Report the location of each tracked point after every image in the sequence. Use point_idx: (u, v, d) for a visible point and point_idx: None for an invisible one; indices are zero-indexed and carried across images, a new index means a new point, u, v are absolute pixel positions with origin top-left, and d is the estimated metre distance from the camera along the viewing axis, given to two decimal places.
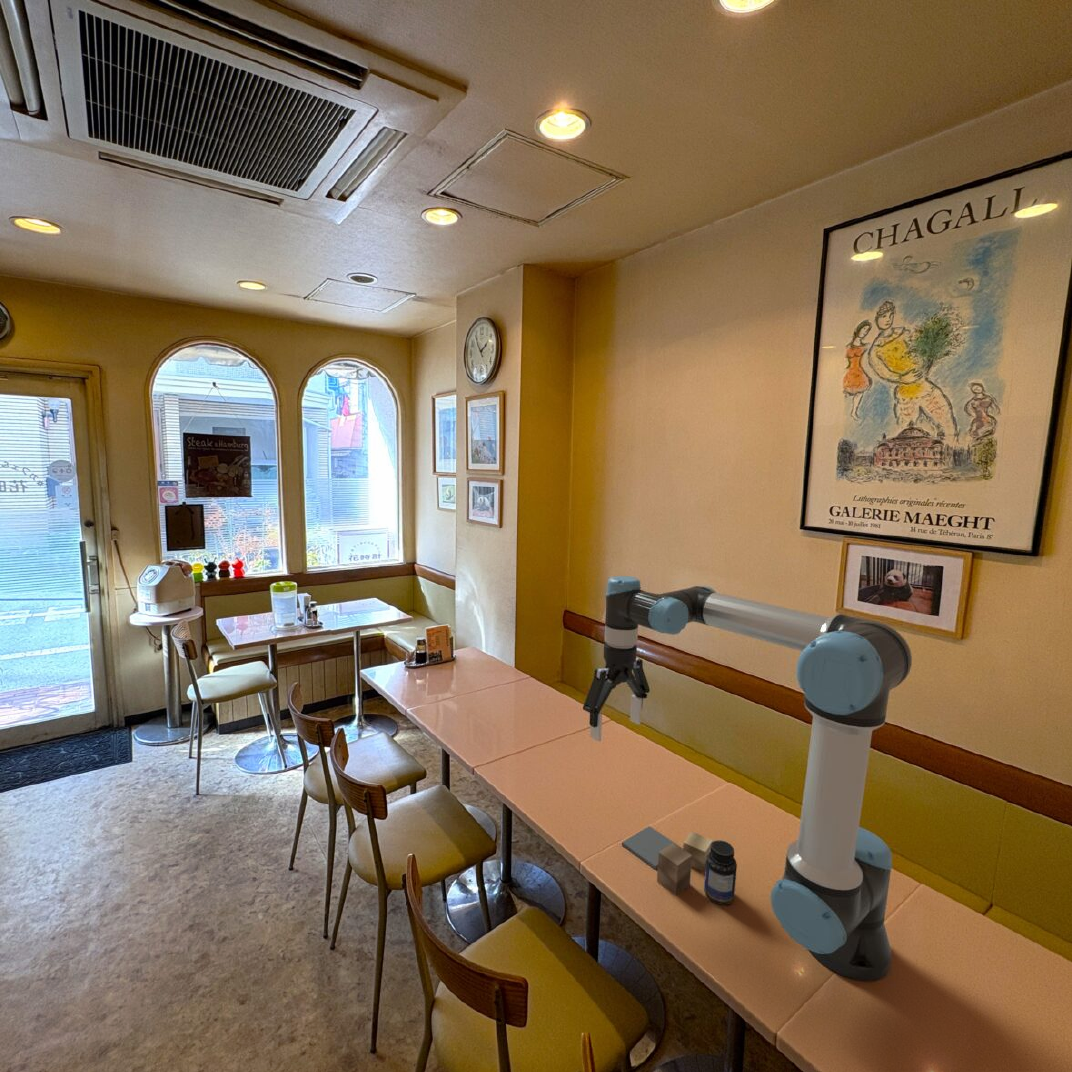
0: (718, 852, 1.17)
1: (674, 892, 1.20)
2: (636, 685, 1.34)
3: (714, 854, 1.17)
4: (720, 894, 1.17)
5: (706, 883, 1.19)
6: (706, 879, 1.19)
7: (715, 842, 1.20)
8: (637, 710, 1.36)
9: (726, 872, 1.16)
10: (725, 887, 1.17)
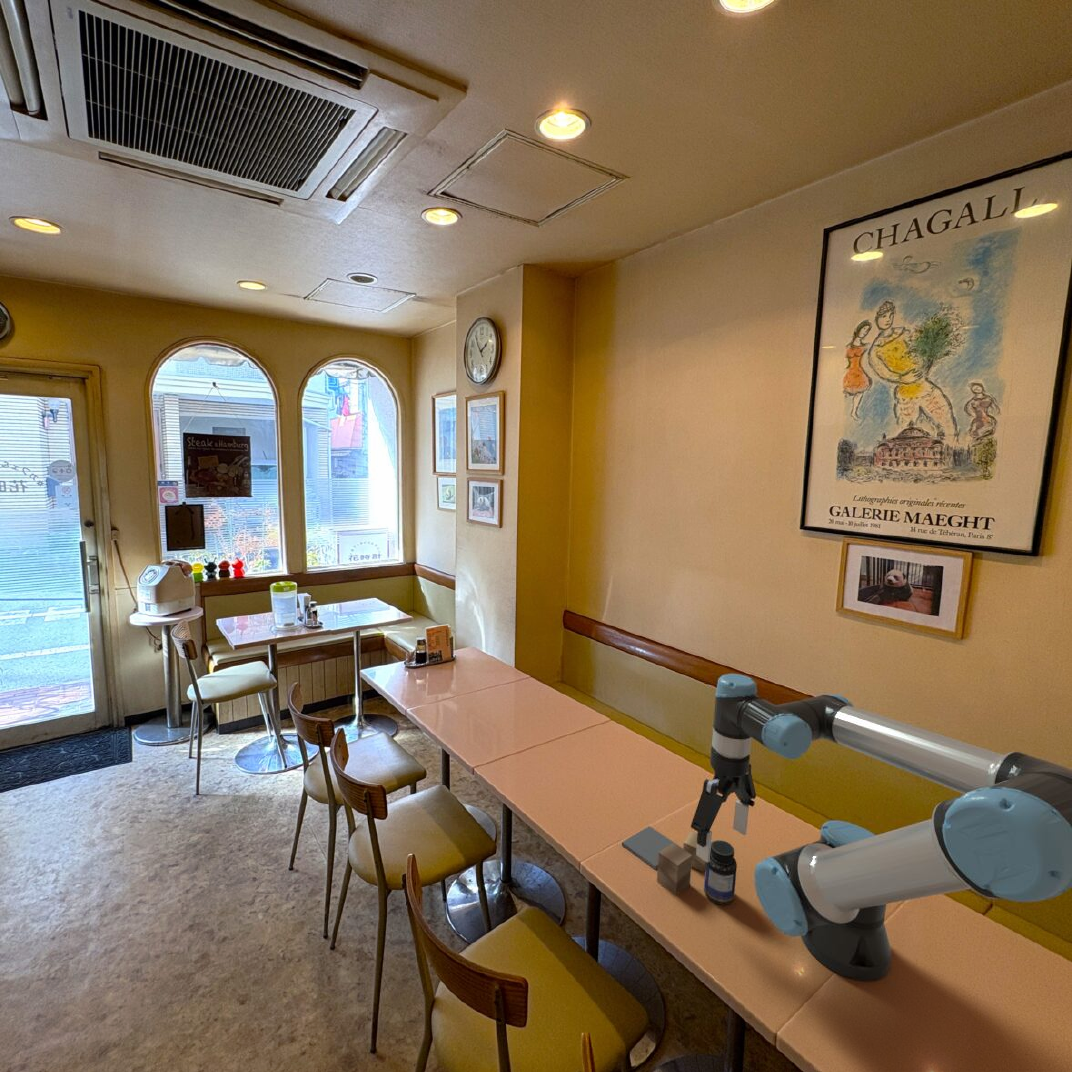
0: (718, 852, 1.17)
1: (674, 892, 1.20)
2: (744, 793, 1.20)
3: (714, 854, 1.18)
4: (720, 894, 1.17)
5: (706, 883, 1.19)
6: (706, 879, 1.19)
7: (715, 842, 1.20)
8: (743, 819, 1.22)
9: (726, 872, 1.16)
10: (725, 887, 1.17)
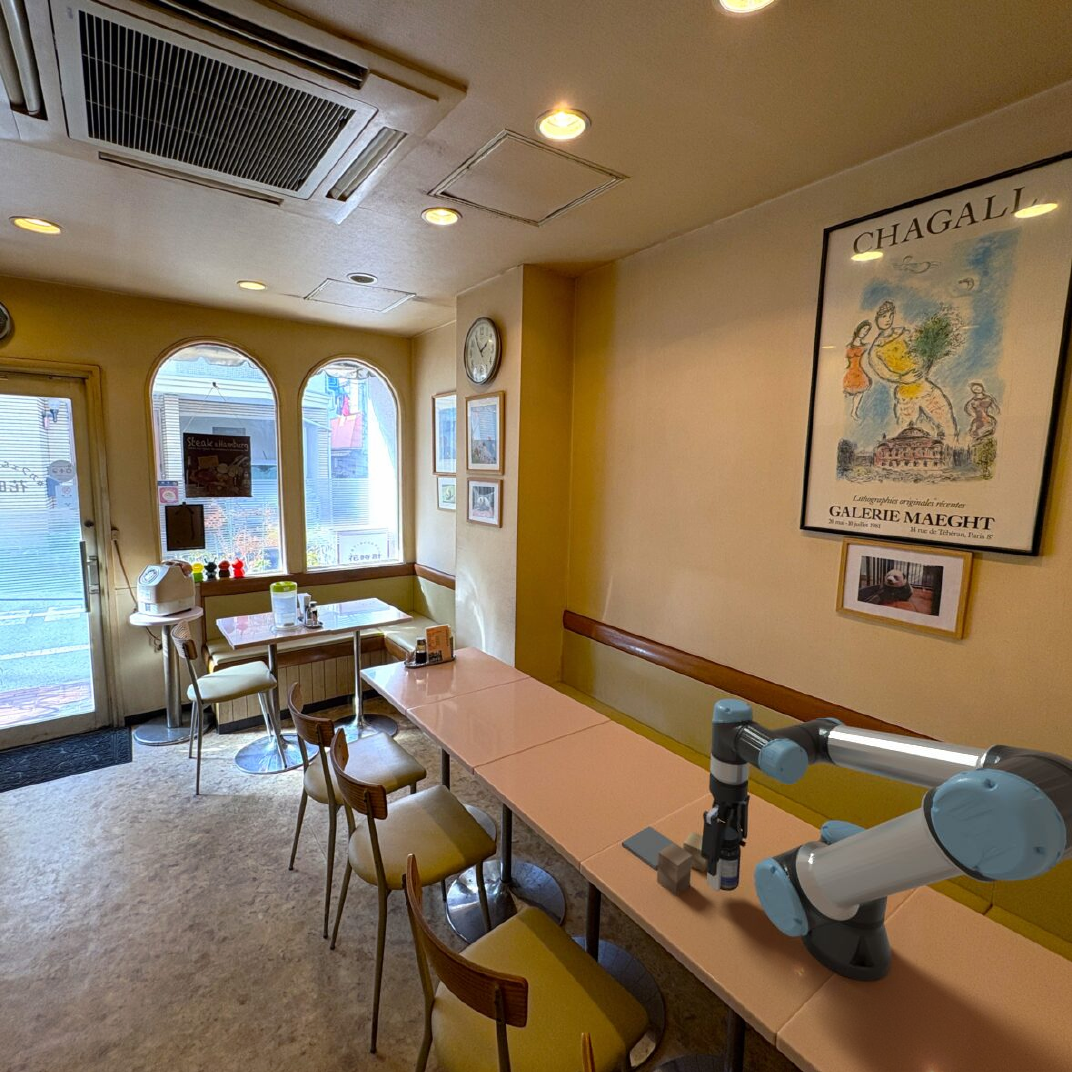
0: None
1: (674, 892, 1.20)
2: (738, 827, 1.19)
3: None
4: (724, 879, 1.16)
5: None
6: None
7: None
8: None
9: (730, 857, 1.15)
10: (729, 873, 1.15)
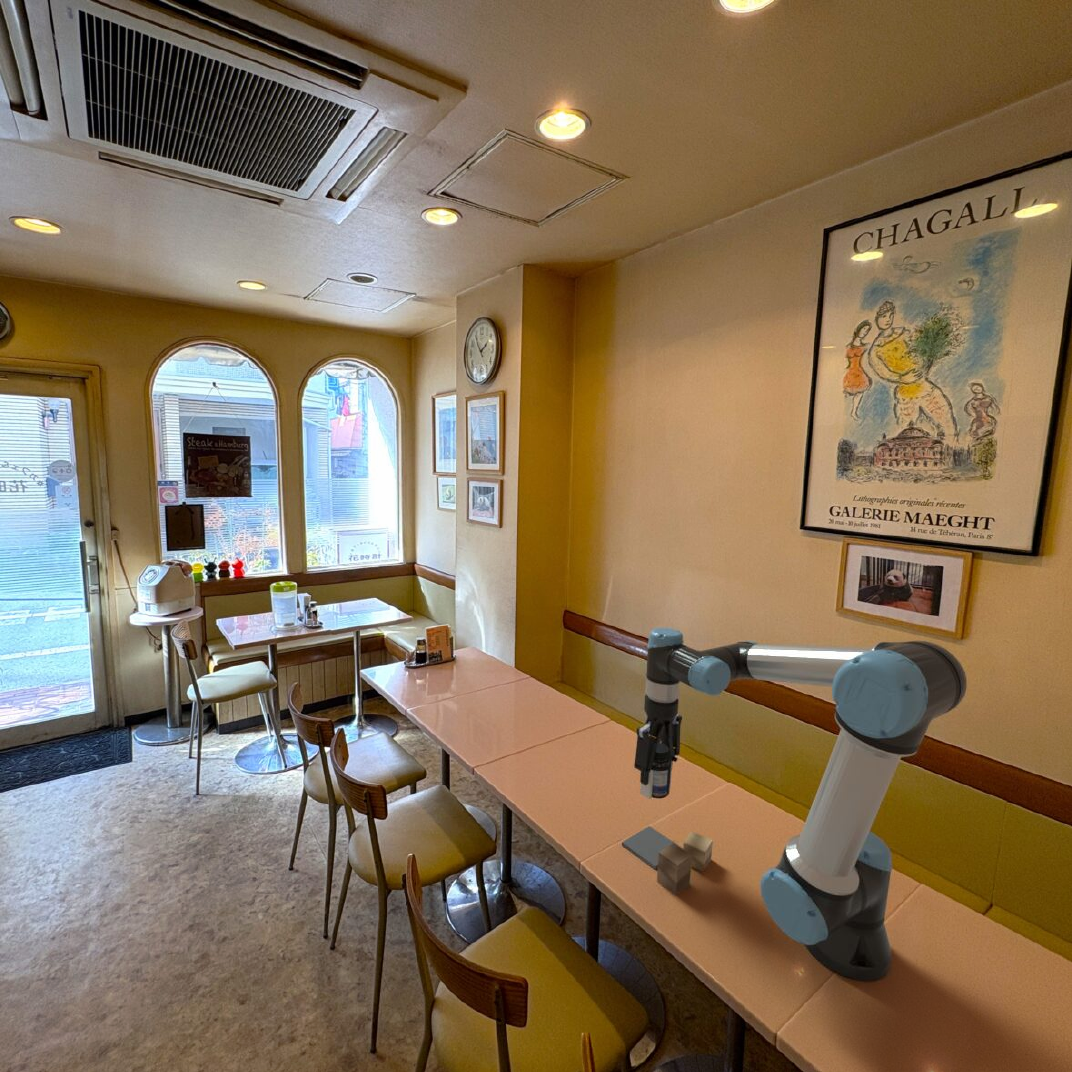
0: None
1: (674, 892, 1.20)
2: (670, 744, 1.31)
3: None
4: (655, 788, 1.29)
5: None
6: None
7: None
8: None
9: (661, 768, 1.28)
10: (660, 782, 1.28)
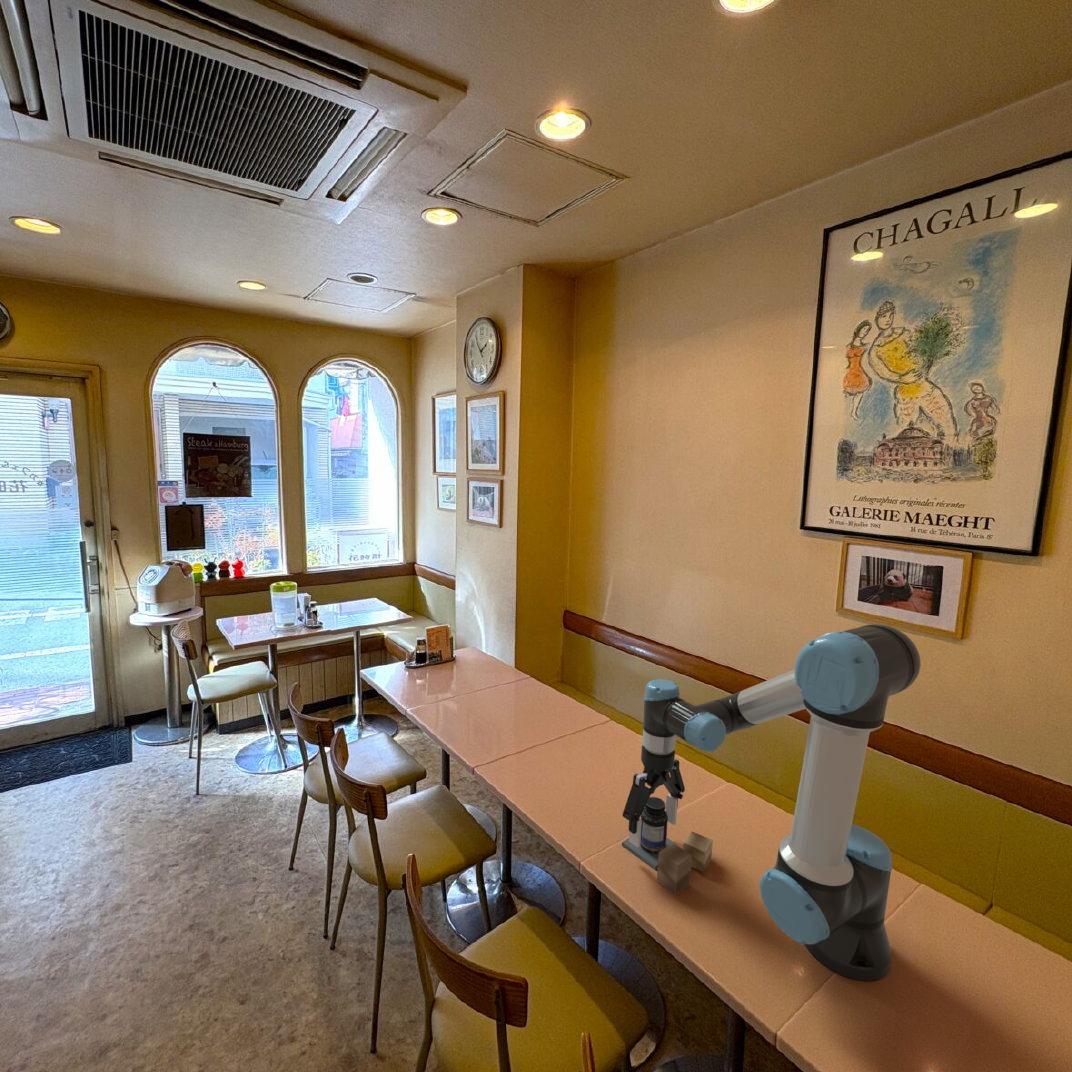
0: (650, 806, 1.31)
1: (674, 892, 1.20)
2: (672, 786, 1.34)
3: (647, 808, 1.31)
4: (652, 843, 1.30)
5: (641, 835, 1.33)
6: (641, 831, 1.33)
7: (649, 798, 1.34)
8: (672, 811, 1.36)
9: (657, 824, 1.29)
10: (656, 837, 1.30)
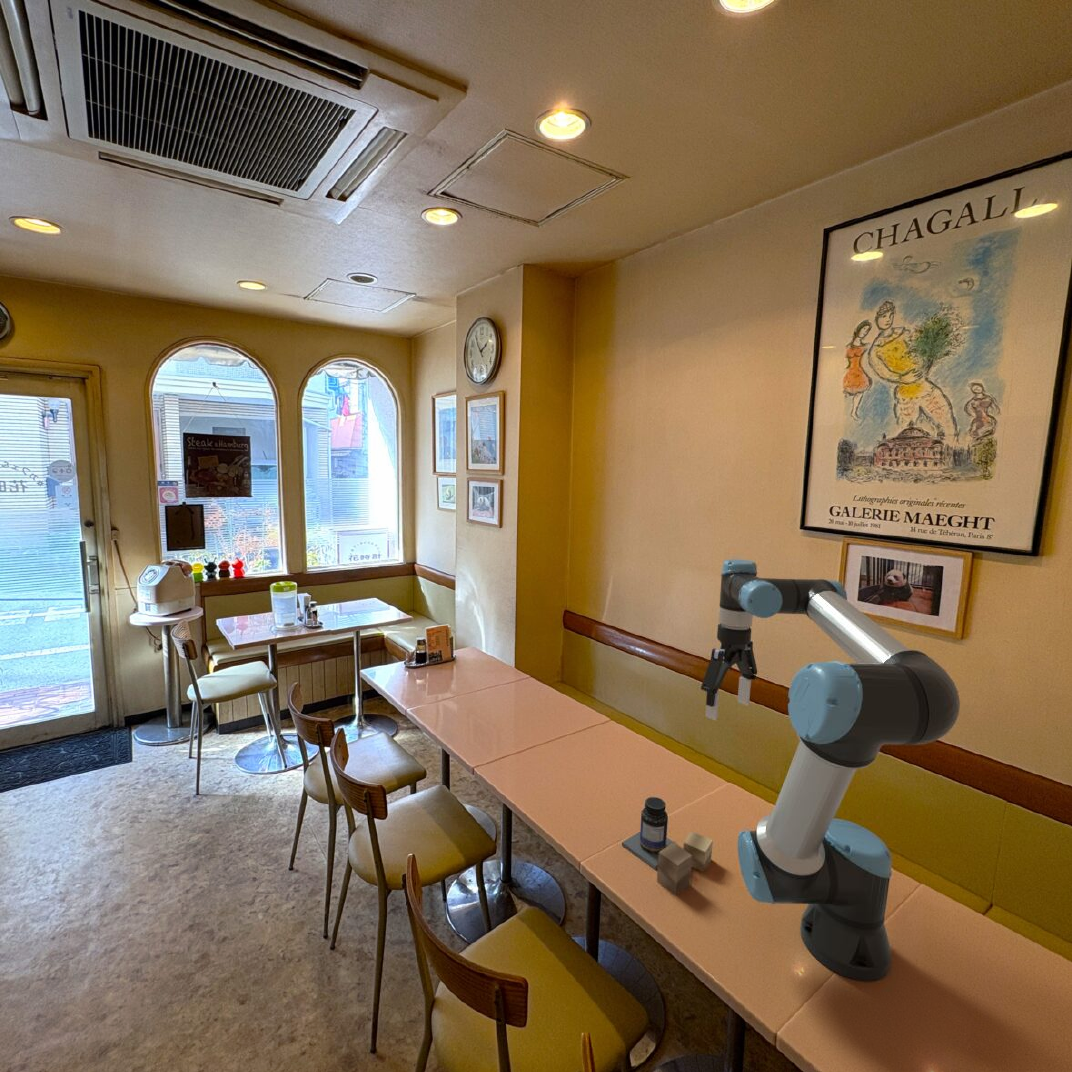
0: (650, 806, 1.31)
1: (674, 892, 1.20)
2: (747, 666, 1.37)
3: (647, 808, 1.31)
4: (652, 843, 1.30)
5: (641, 835, 1.33)
6: (641, 831, 1.33)
7: (649, 798, 1.34)
8: (746, 691, 1.39)
9: (657, 824, 1.29)
10: (656, 838, 1.30)
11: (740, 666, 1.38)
